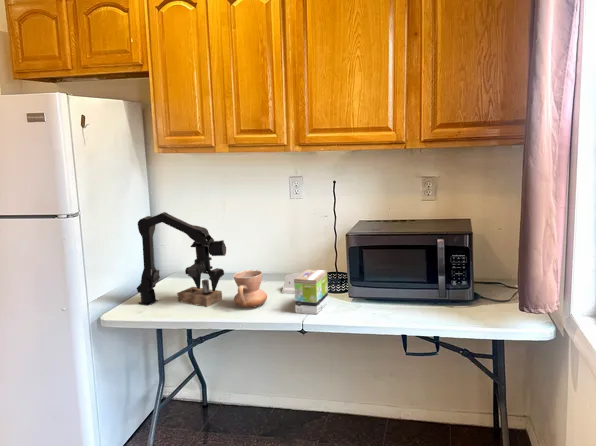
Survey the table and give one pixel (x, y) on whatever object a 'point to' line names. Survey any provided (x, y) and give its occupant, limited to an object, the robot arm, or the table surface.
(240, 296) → the ceramic jug
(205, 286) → the peg
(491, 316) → the table surface
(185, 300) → the hole block
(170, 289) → the table surface
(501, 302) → the table surface
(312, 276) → the tea box
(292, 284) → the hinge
